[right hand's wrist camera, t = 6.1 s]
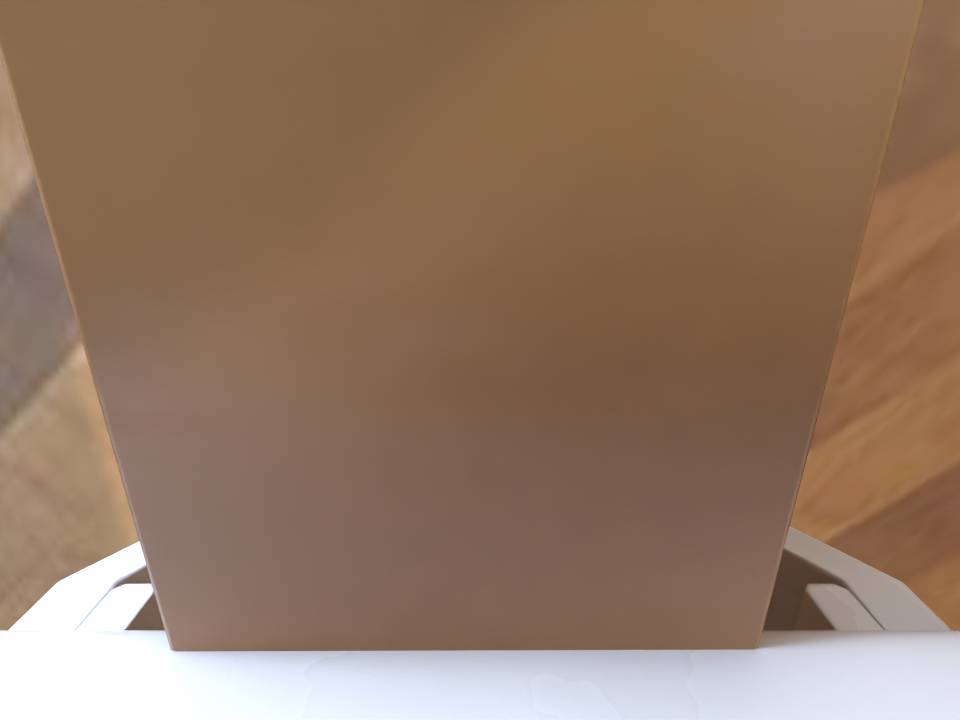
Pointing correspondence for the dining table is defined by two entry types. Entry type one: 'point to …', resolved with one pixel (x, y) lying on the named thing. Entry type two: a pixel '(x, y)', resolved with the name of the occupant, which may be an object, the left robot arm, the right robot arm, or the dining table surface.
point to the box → (459, 300)
